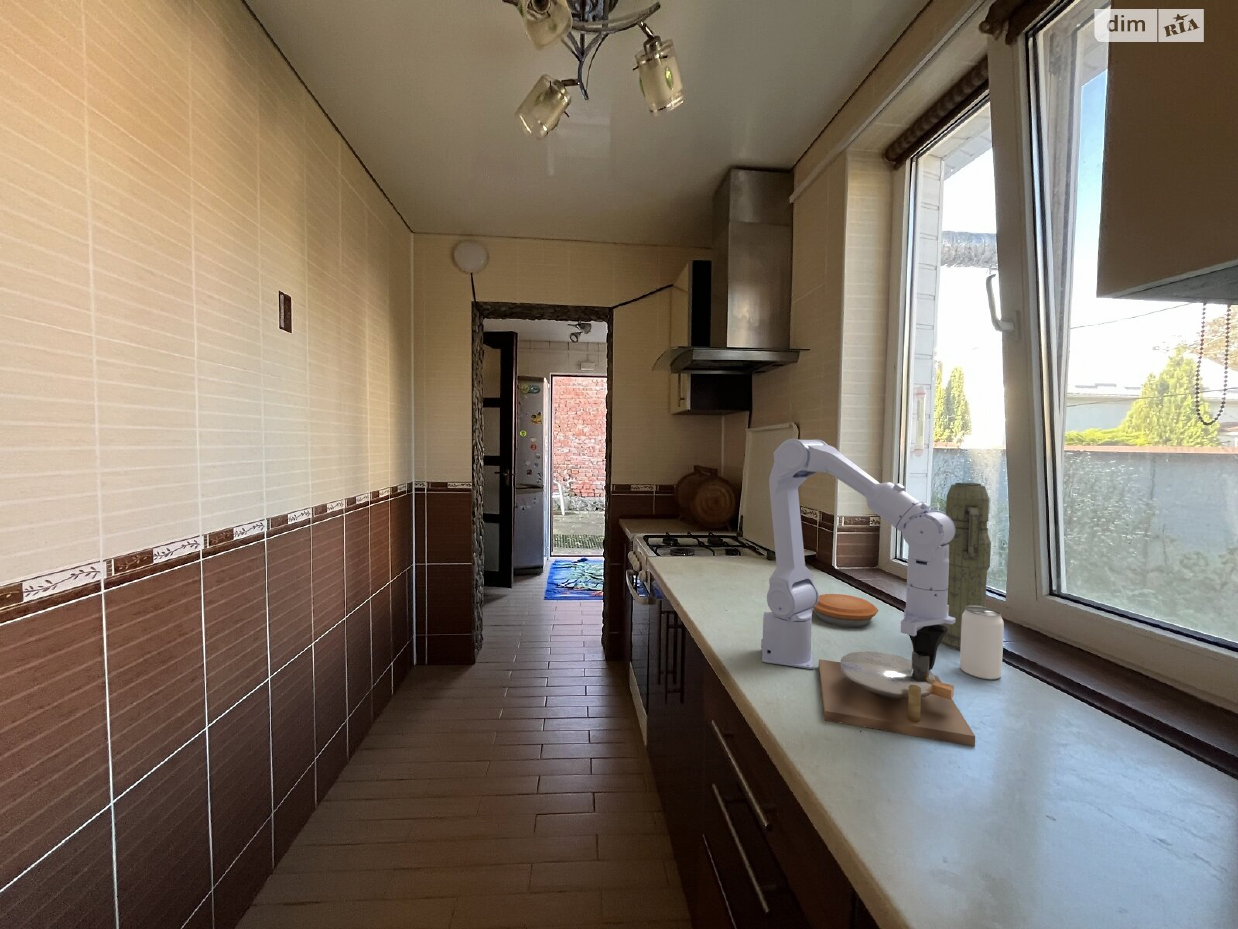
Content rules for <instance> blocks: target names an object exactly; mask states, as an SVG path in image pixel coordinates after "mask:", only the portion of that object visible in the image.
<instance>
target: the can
mask: <svg viewBox="0 0 1238 929" xmlns="http://www.w3.org/2000/svg"><path fill="white" fill-rule="evenodd" d="M1004 626H1005V624H1004V619H1003V618H1002V612H1000V611H999V610H996V609H993V608H990V607H981V606H967V607H965V611H964V613H963V614H962V624H961V648H960V650H959V651H960V652H959V656H960V657H959V668H960V670H962V672H963V673H965V674H967V675H969V676H971V677H973V678H977V679H982V680H988V681H989V680H990V681H994V680H998V679H1000V678H1001V677H1002V674H1003V672H1002V670H1003V649H1004V630H1005V629H1004V628H1005V627H1004Z"/></svg>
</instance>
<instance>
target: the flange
mask: <svg viewBox="0 0 1238 929" xmlns="http://www.w3.org/2000/svg"><path fill="white" fill-rule="evenodd" d="M911 652H912V653H911V660H910V659H908V658H905V657H902V656H898V655H895V654H890V653H885V652H879V651H868V650H867V651H864V650H863V651H852V652H850V653H846V654H845V655H843V656H842V657H841V659H840V662H841V673H842V675H843V676H844V677H845V678H846V679H847V680H848V681H850V682H851V683H853V684H855V685H856V686H858V687H861V688H863V689H865V690H868V691H871V692H874V693H877V694H881V695H885V696H890V697H896V698H908V697H909V685H916V686H919V687H920V688H921V698H922V697H926V696H929V695H931V694H934V695H937V696H940V697H943V698H947V699H950V700H951V699H952V700H953V697H954V695H955V685H952V684H949V683H946V682H942V681H941V682H939V681H936V680H935V676H934V675H935V674H934V673H933V672H932V671H931V670H930V671H929V654H927V653H924V652H921V651H913V650H912V651H911Z"/></svg>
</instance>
